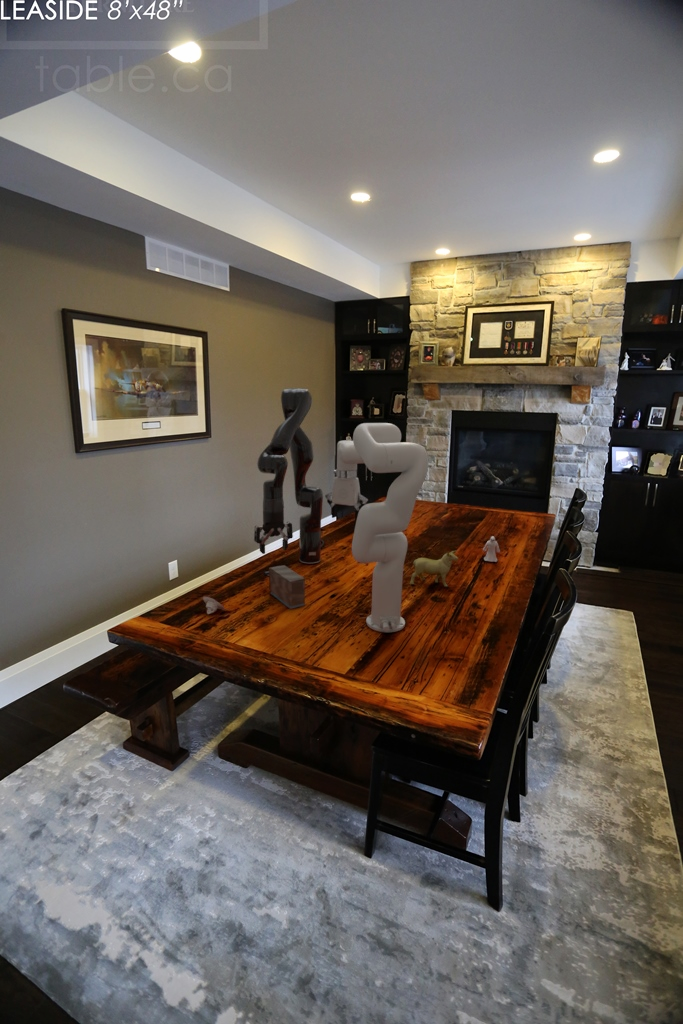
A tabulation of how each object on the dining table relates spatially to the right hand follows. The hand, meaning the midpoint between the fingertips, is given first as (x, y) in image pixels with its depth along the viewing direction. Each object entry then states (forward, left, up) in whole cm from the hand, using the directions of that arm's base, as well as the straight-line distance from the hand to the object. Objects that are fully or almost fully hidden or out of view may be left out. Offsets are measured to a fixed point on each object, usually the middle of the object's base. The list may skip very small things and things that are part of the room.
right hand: (345, 518), depth 190 cm
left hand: (-6, +27, -11) cm, 30 cm away
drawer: (-10, +25, -25) cm, 37 cm away
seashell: (-24, +47, -26) cm, 59 cm away
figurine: (+24, -68, -26) cm, 77 cm away
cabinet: (-15, +22, -26) cm, 37 cm away
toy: (-3, -34, -26) cm, 43 cm away
